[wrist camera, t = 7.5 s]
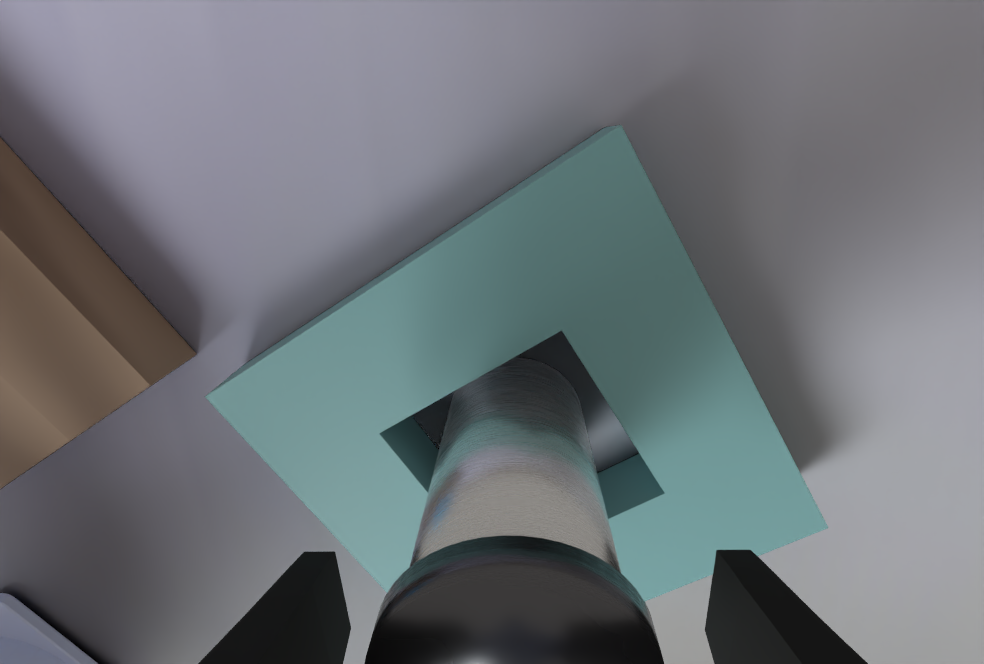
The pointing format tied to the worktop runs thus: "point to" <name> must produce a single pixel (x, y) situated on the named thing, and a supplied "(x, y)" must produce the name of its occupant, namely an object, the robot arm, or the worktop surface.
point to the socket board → (511, 331)
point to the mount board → (65, 326)
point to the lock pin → (514, 540)
